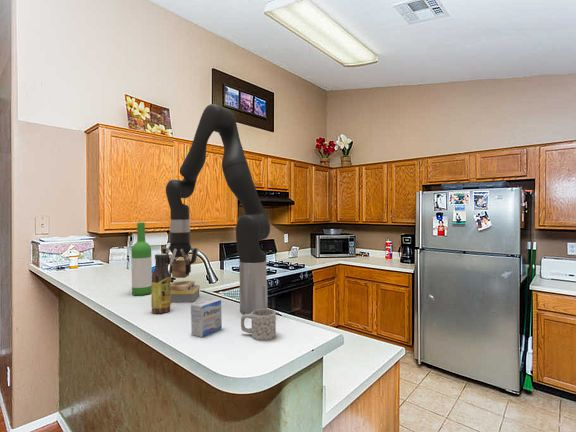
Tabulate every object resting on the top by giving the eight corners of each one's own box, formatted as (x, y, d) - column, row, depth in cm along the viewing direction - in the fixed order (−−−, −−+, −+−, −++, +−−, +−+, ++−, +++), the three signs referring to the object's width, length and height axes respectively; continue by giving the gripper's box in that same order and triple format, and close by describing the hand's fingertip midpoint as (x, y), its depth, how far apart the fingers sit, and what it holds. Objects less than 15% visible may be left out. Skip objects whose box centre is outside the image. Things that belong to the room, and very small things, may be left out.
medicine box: (202, 338, 93) (201, 306, 93) (190, 334, 96) (190, 304, 96) (222, 329, 100) (221, 299, 100) (211, 326, 102) (210, 297, 102)
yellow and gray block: (199, 296, 139) (199, 285, 139) (193, 302, 129) (193, 290, 129) (170, 296, 139) (169, 285, 139) (161, 302, 130) (161, 290, 130)
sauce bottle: (164, 314, 114) (163, 255, 114) (147, 313, 116) (146, 255, 115) (174, 309, 121) (173, 253, 120) (158, 308, 122) (157, 252, 122)
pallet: (194, 284, 139) (194, 280, 139) (187, 290, 129) (186, 286, 129) (175, 285, 139) (175, 280, 139) (166, 290, 129) (165, 286, 129)
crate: (189, 275, 137) (189, 260, 137) (185, 277, 132) (184, 262, 131) (176, 275, 137) (176, 260, 137) (171, 277, 132) (171, 262, 132)
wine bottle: (152, 291, 149) (151, 222, 148) (151, 295, 141) (150, 222, 141) (133, 292, 146) (131, 222, 146) (130, 296, 139) (129, 223, 138)
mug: (278, 332, 97) (278, 309, 97) (272, 341, 90) (271, 316, 90) (245, 330, 99) (244, 307, 99) (236, 338, 93) (236, 314, 92)
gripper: (200, 230, 137) (201, 272, 138) (165, 230, 138) (166, 272, 138) (195, 231, 130) (195, 276, 130) (158, 231, 130) (158, 276, 131)
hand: (180, 274), depth 134 cm, fingers closed on crate, 5 cm apart
